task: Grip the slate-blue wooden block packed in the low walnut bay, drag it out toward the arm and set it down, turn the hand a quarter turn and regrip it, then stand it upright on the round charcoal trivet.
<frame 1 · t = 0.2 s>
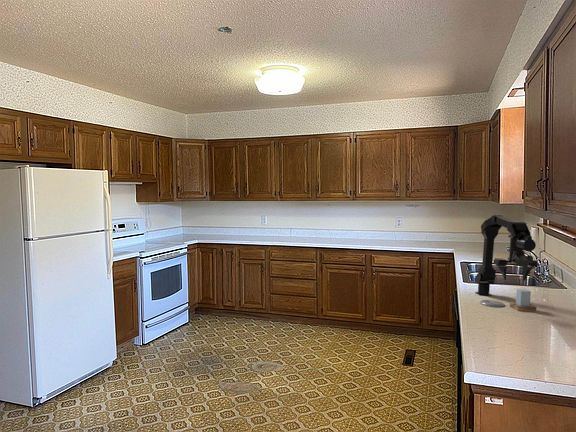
hand: (514, 280, 214), 14 cm above the worktop, tool pointing down, fingers open, 9 cm apart
slate block: (523, 299, 216), in the walnut bay
charcoal trivet: (492, 304, 223), on the worktop
walnut bay: (522, 308, 216), on the worktop
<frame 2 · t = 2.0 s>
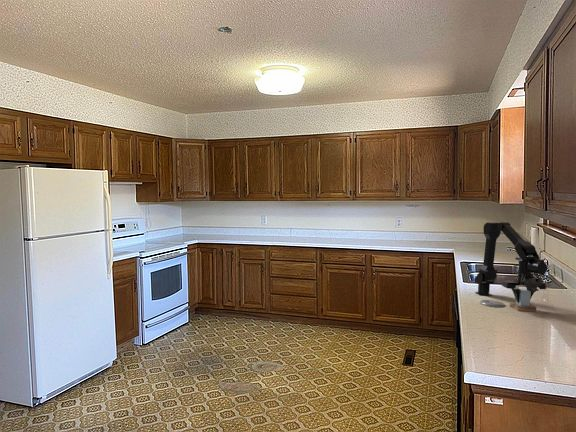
hand: (522, 302, 216), 3 cm above the worktop, tool pointing down, fingers closed on slate block, 4 cm apart
slate block: (523, 299, 216), in the walnut bay, touching gripper
when the fingers open (4 cm above the worktop, at t = 5.1 s): slate block stays where it is, on the worktop.
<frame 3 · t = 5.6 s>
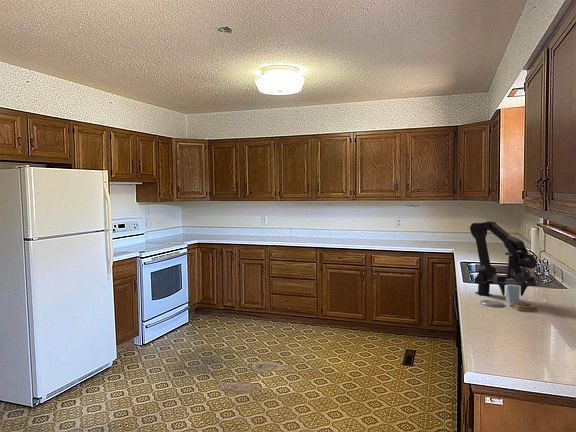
hand: (512, 295, 226), 4 cm above the worktop, tool pointing down, fingers open, 9 cm apart
slate block: (512, 294, 226), on the worktop
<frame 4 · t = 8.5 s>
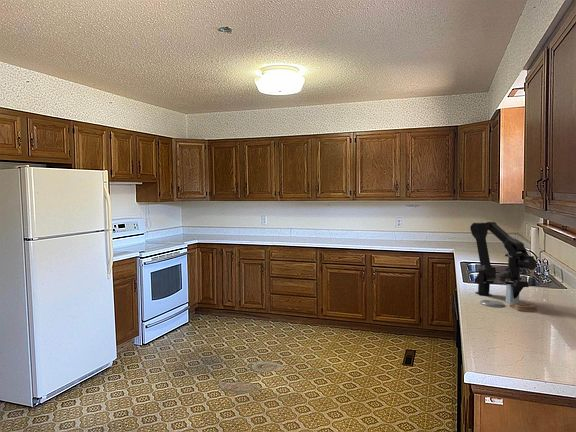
hand: (512, 297, 226), 3 cm above the worktop, tool pointing down, fingers closed on slate block, 4 cm apart
slate block: (512, 294, 226), on the worktop, touching gripper
when the fingers open (5 cm above the worktop, at t = 12.4 s): slate block stays where it is, resting on charcoal trivet.
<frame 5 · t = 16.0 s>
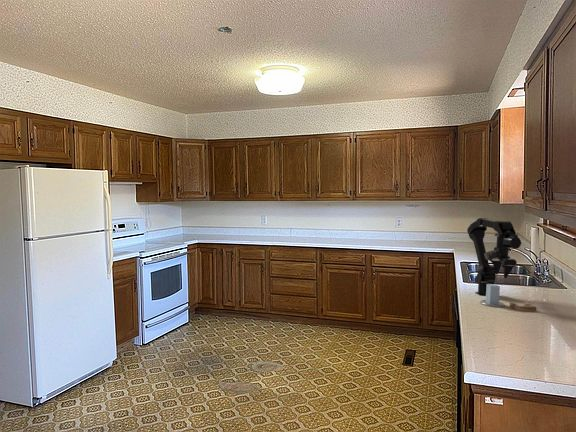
hand: (500, 276, 228), 13 cm above the worktop, tool pointing down, fingers open, 9 cm apart
slate block: (492, 294, 223), on the charcoal trivet, point 5 cm above the worktop
at the end: slate block 0.0 cm off-centre on the charcoal trivet, point 5.1 cm above the charcoal trivet's base; slate block tilted 0°; the gripper is holding nothing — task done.
